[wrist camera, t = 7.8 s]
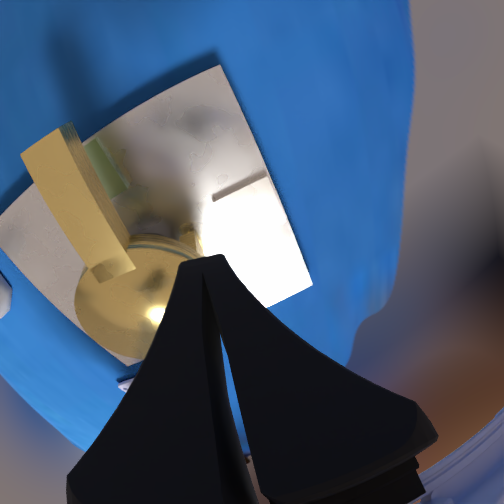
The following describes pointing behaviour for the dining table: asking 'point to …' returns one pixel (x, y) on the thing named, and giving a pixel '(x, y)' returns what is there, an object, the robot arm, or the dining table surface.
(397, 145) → the dining table surface
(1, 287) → the flask
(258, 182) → the base plate
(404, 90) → the dining table surface
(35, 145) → the gold bar with disc
